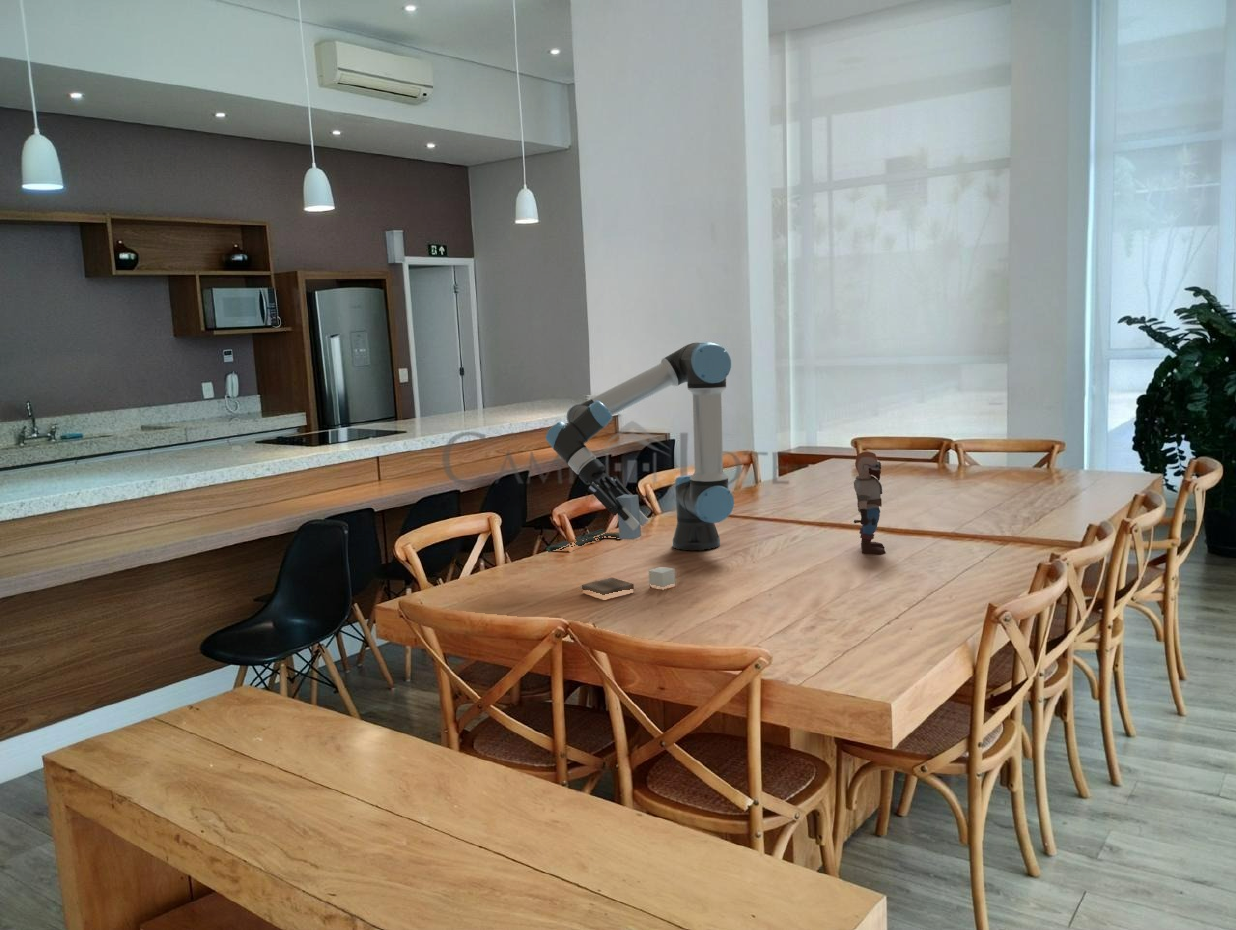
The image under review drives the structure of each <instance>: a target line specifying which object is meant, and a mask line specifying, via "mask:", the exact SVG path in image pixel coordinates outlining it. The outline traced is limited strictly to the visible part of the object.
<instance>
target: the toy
mask: <svg viewBox="0 0 1236 930" xmlns="http://www.w3.org/2000/svg"><path fill="white" fill-rule="evenodd" d="M855 458H856V459H855V463H854V464H855V465H854V466H855V468H856V470H857V473H858V475H857V476H855V480H854V481H853V489H854V491H855V493H856V499H857V510H858V511H857V512H858V513H860V520H859V519H854V520H853V523H854V524H859V523H860V525H862V526H861V527H859V534H860V537H859V538H860V539H861V541H860V548H861V553H862V554H869V555H871V554H873V555H885V554H887V552H886V550H885V546H884V544H883V543H881V542H878V541H873V540H874V539H875V532H876V530H877V527H878V524H879V521H880V515H881V514H880V513H881V509H880V508H882V506H883V504H882V497H881V495H882V494H883V486H882V484H881V482H880V479H881V473H882V463H881V461H878V458H877V454H876V453H875V452H870V451H862V452H860V453H858V454H857V455H856V457H855Z"/></svg>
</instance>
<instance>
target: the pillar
mask: <svg viewBox="0 0 1236 930" xmlns="http://www.w3.org/2000/svg"><path fill="white" fill-rule="evenodd" d="M617 500H618V502H619V503H620V505H621V506H622V509H623V507H625V508H626V509H627V510H628V511H629V512H630V513H631V514H632V516H633V517H634V518H635V519H636V520H637V521H638V522H639V523H640V513H639V510H640V504H639V503H640V502H639V494H632V495H626V494H624V495H622V496H619V497H617ZM617 521H618V533H619V536H620V540H629V541H630V540H631V541H632V540H633V541H634V540H635V539H639V538H641V537H642V530H641V529H642V528H641V527H642V526H641V525H640V524H639V525H638V527H637V528H636V529H635V530H634V531H633V530H632V529H631V528H630V527H629V525H628V524H627V523H626V522H625V521H624V520H623V519H622V518H621V517H620V516H619V515H618V514H617Z"/></svg>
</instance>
